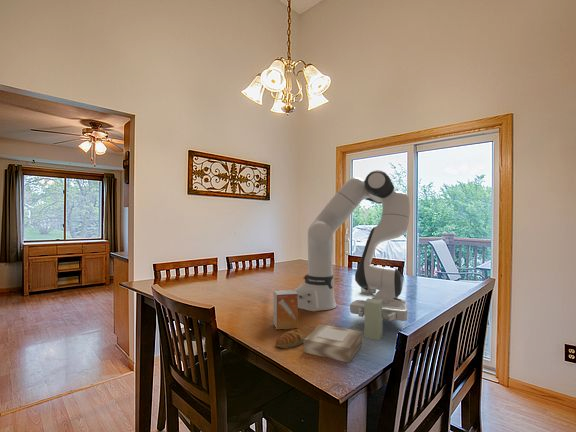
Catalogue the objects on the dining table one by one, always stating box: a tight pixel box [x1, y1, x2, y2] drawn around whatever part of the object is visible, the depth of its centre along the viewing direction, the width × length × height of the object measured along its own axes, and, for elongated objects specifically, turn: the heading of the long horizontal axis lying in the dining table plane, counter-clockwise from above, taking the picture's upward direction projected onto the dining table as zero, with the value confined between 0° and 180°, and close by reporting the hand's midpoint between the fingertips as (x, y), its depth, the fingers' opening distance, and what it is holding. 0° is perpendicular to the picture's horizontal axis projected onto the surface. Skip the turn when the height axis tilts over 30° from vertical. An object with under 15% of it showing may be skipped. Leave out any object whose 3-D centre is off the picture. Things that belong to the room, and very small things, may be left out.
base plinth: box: [303, 324, 363, 363], centre depth 94 cm, size 14×14×4 cm
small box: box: [273, 289, 299, 330], centre depth 112 cm, size 8×6×13 cm
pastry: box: [275, 328, 305, 349], centre depth 97 cm, size 9×7×4 cm
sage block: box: [363, 298, 383, 341], centre depth 103 cm, size 5×5×12 cm
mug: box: [360, 287, 377, 295], centre depth 159 cm, size 10×7×7 cm
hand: (374, 316), depth 104 cm, fingers open, 8 cm apart
